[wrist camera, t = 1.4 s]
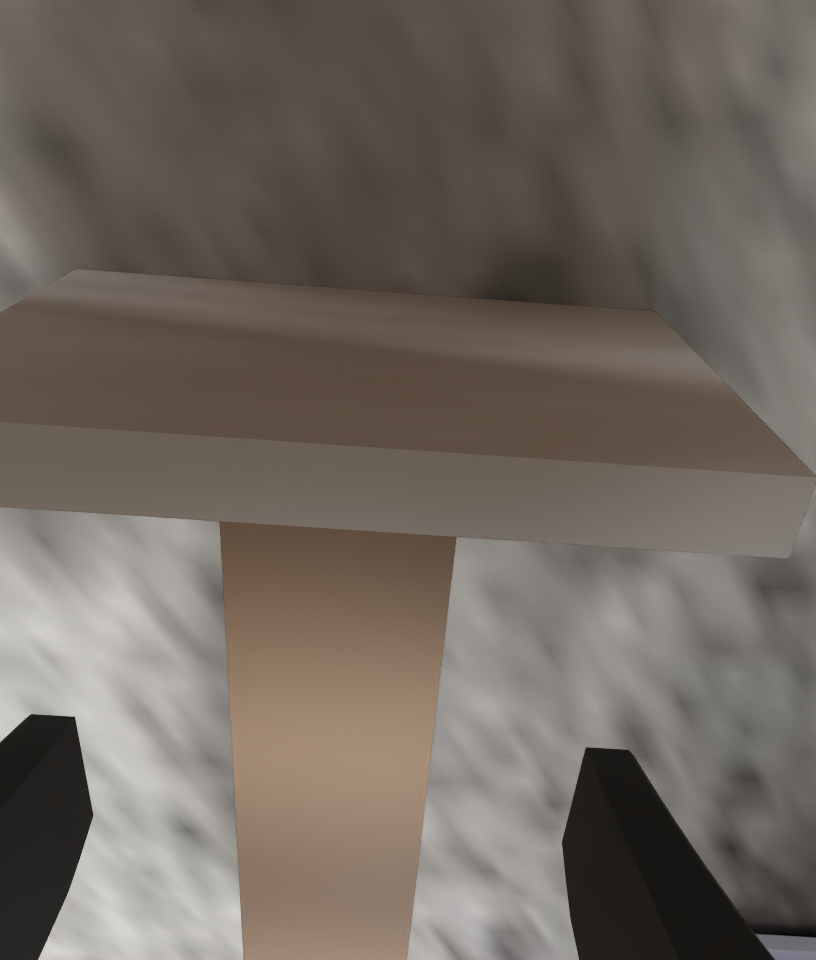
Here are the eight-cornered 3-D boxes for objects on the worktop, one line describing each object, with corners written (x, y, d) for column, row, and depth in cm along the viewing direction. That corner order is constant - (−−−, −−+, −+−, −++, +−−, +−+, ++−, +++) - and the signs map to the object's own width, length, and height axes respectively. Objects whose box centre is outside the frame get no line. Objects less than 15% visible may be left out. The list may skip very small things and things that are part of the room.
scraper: (518, 918, 17) (551, 1209, 13) (160, 898, 17) (70, 1186, 13) (654, 309, 11) (817, 477, 6) (77, 267, 11) (-169, 409, 6)
